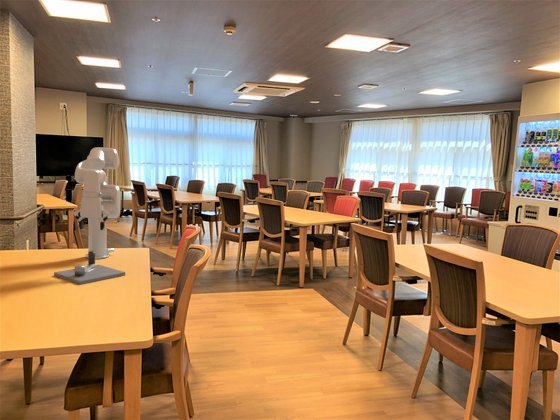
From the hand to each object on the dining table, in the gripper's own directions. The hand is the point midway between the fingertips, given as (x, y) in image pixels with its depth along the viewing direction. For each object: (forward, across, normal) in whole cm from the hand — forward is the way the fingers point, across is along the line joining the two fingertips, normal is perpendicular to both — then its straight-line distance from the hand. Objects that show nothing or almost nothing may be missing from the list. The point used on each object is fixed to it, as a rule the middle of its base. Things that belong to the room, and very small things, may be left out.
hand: (91, 229), depth 214 cm
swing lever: (+18, 0, +9) cm, 21 cm away
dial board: (+20, -3, +11) cm, 23 cm away
